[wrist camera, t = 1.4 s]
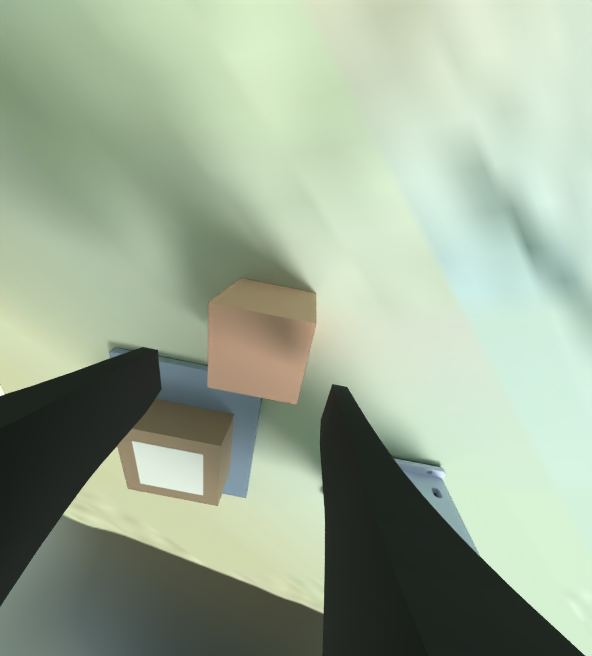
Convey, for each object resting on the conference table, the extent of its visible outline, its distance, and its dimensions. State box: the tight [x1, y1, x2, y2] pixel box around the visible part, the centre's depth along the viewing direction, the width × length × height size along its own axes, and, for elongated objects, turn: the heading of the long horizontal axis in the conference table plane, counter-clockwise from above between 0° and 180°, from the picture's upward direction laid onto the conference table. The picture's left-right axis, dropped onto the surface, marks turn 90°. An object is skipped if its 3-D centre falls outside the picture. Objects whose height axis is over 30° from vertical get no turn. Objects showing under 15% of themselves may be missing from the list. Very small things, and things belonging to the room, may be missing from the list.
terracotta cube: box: [207, 278, 316, 405], centre depth 14 cm, size 5×5×5 cm
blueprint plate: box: [109, 348, 261, 506], centre depth 20 cm, size 12×16×4 cm
